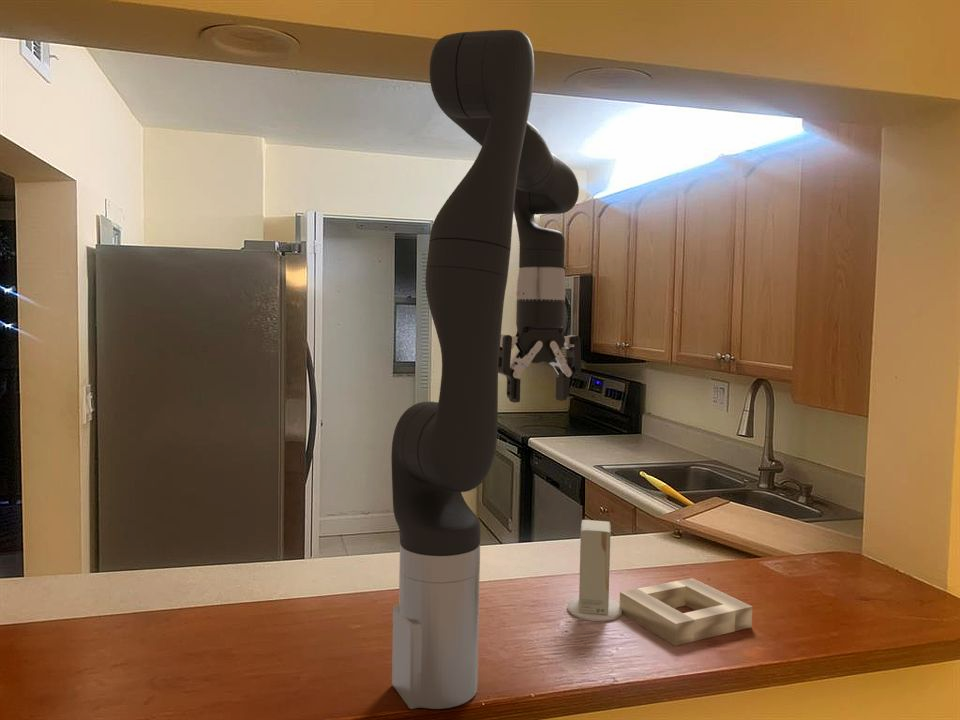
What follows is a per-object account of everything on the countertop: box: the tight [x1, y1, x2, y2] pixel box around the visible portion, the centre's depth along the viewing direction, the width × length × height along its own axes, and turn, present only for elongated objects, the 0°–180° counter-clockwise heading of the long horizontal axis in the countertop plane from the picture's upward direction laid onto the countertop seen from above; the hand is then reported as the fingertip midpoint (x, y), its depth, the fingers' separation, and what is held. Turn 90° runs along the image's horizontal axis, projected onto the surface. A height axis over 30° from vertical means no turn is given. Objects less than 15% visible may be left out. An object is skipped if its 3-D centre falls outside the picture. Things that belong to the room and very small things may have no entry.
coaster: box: [567, 596, 623, 623], centre depth 106 cm, size 8×8×1 cm
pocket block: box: [619, 577, 753, 647], centre depth 103 cm, size 14×12×3 cm
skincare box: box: [578, 519, 612, 615], centre depth 106 cm, size 6×4×12 cm
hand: (538, 401), depth 112 cm, fingers open, 8 cm apart
